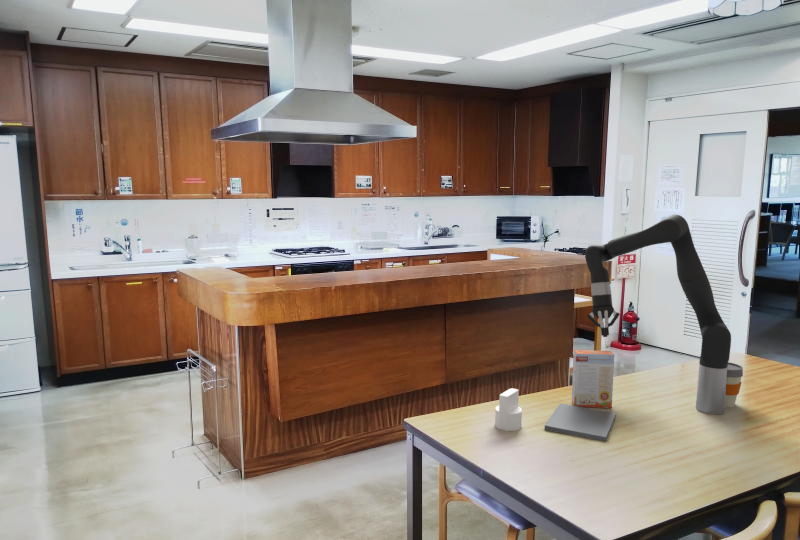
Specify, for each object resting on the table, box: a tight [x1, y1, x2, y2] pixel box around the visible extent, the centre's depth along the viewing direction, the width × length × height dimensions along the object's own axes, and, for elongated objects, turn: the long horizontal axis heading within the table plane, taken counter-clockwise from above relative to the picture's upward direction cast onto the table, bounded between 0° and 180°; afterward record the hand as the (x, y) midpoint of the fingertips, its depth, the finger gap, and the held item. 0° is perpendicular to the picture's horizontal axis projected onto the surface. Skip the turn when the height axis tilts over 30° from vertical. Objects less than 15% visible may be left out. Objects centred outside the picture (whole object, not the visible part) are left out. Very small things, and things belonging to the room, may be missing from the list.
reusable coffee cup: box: [724, 361, 744, 408], centre depth 226 cm, size 13×13×15 cm
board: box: [544, 402, 617, 442], centre depth 206 cm, size 20×24×2 cm
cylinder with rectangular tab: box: [494, 387, 523, 432], centre depth 203 cm, size 9×9×12 cm
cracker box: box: [571, 349, 615, 409], centre depth 222 cm, size 14×6×21 cm, turn 84°
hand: (605, 336), depth 237 cm, fingers closed
